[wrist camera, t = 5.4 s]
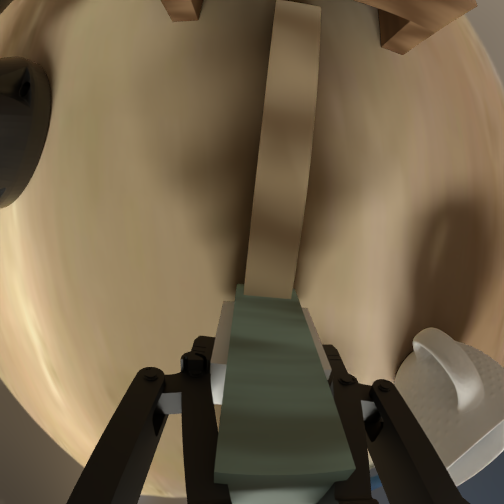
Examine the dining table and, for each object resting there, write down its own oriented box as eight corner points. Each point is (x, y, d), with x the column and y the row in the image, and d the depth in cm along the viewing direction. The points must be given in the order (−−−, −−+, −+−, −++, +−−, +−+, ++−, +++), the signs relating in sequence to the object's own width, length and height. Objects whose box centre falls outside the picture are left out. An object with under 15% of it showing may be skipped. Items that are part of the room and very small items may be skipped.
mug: (343, 338, 21) (406, 468, 8) (445, 265, 19) (555, 334, 7) (390, 418, 24) (430, 504, 12) (466, 364, 23) (524, 431, 10)
